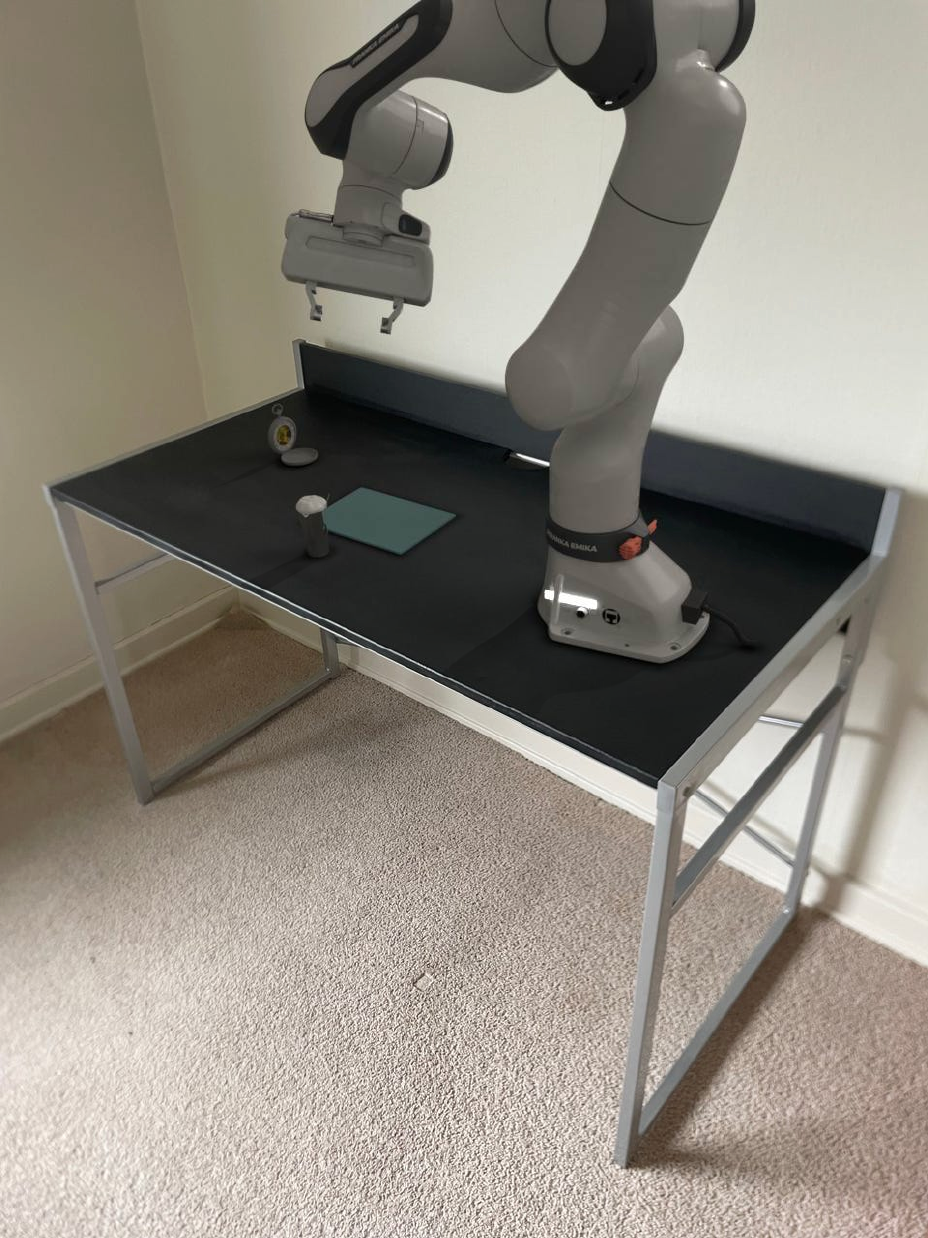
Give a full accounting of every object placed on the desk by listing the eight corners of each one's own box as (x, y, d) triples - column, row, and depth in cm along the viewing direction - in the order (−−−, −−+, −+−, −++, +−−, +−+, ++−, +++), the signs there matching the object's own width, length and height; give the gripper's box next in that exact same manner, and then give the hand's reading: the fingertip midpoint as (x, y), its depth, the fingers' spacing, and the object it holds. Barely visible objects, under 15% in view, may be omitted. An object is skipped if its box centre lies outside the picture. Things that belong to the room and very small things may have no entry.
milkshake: (333, 561, 137) (324, 501, 131) (299, 559, 138) (288, 499, 132) (343, 546, 141) (334, 486, 135) (309, 544, 142) (299, 485, 136)
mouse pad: (455, 516, 146) (455, 514, 146) (400, 555, 137) (400, 553, 137) (361, 489, 157) (361, 486, 156) (304, 523, 148) (303, 521, 147)
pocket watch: (315, 467, 165) (307, 414, 159) (269, 469, 165) (259, 416, 160) (322, 448, 172) (314, 396, 166) (277, 450, 172) (268, 399, 167)
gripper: (285, 197, 118) (270, 305, 119) (442, 228, 120) (425, 334, 121) (290, 214, 125) (275, 317, 125) (439, 244, 127) (423, 345, 128)
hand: (350, 326), depth 123 cm, fingers open, 8 cm apart
